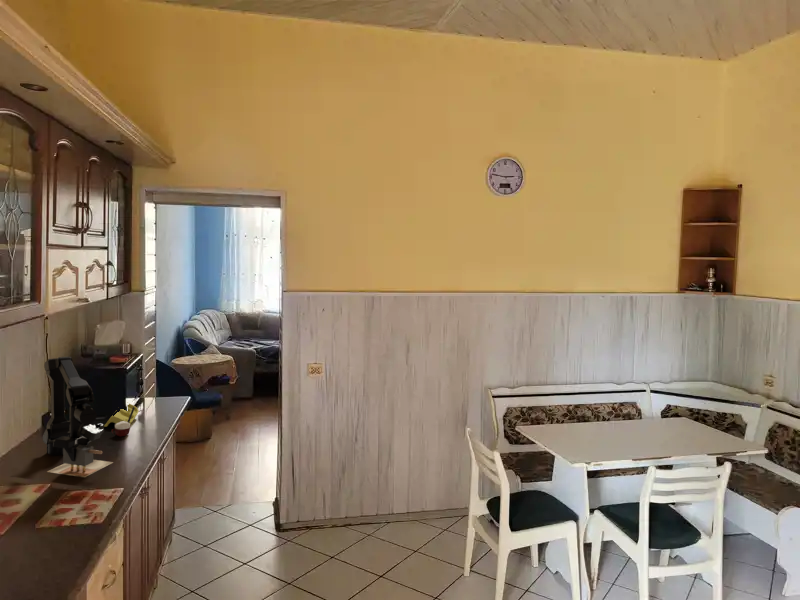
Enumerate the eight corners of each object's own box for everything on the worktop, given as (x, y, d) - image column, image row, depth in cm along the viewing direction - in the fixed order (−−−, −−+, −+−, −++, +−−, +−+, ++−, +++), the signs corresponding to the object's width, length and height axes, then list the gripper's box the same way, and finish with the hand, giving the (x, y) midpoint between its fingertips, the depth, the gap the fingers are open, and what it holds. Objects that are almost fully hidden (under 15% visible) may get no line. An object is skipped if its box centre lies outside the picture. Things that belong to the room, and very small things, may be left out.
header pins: (70, 470, 227) (70, 462, 227) (71, 469, 228) (71, 461, 228) (84, 472, 226) (84, 464, 226) (86, 471, 227) (86, 463, 227)
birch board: (46, 475, 225) (46, 471, 225) (77, 461, 241) (77, 457, 241) (84, 481, 222) (84, 476, 222) (113, 466, 238) (113, 462, 238)
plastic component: (130, 423, 285) (109, 414, 283) (123, 436, 286) (102, 427, 284) (141, 408, 305) (121, 400, 302) (134, 421, 305) (114, 413, 303)
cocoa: (111, 438, 271) (110, 412, 269) (113, 433, 277) (111, 408, 275) (134, 436, 274) (133, 410, 272) (135, 431, 280) (135, 406, 278)
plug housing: (63, 463, 226) (63, 447, 225) (71, 459, 230) (72, 443, 229) (97, 467, 223) (97, 451, 222) (105, 463, 227) (105, 447, 227)
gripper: (79, 427, 215) (79, 470, 216) (114, 413, 233) (114, 453, 234) (52, 423, 217) (51, 466, 218) (88, 410, 235) (88, 450, 237)
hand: (78, 459), depth 227 cm, fingers closed on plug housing, 4 cm apart
